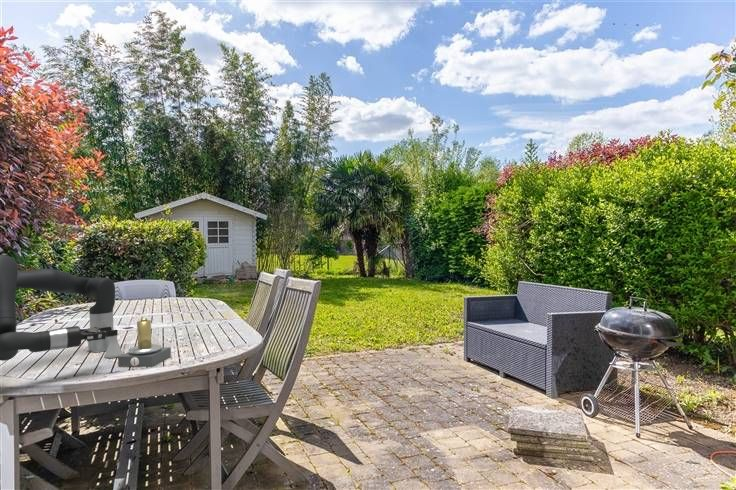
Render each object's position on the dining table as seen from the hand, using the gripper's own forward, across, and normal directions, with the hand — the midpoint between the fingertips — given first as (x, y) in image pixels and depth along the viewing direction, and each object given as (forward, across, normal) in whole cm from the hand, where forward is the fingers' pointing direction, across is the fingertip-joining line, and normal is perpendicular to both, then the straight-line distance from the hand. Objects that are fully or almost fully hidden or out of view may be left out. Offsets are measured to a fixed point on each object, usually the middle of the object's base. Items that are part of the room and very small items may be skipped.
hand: (114, 330), depth 168 cm
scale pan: (+11, 0, +10) cm, 15 cm away
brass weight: (+11, 0, +9) cm, 14 cm away
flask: (+4, +20, +15) cm, 25 cm away
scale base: (+11, 0, +14) cm, 18 cm away
